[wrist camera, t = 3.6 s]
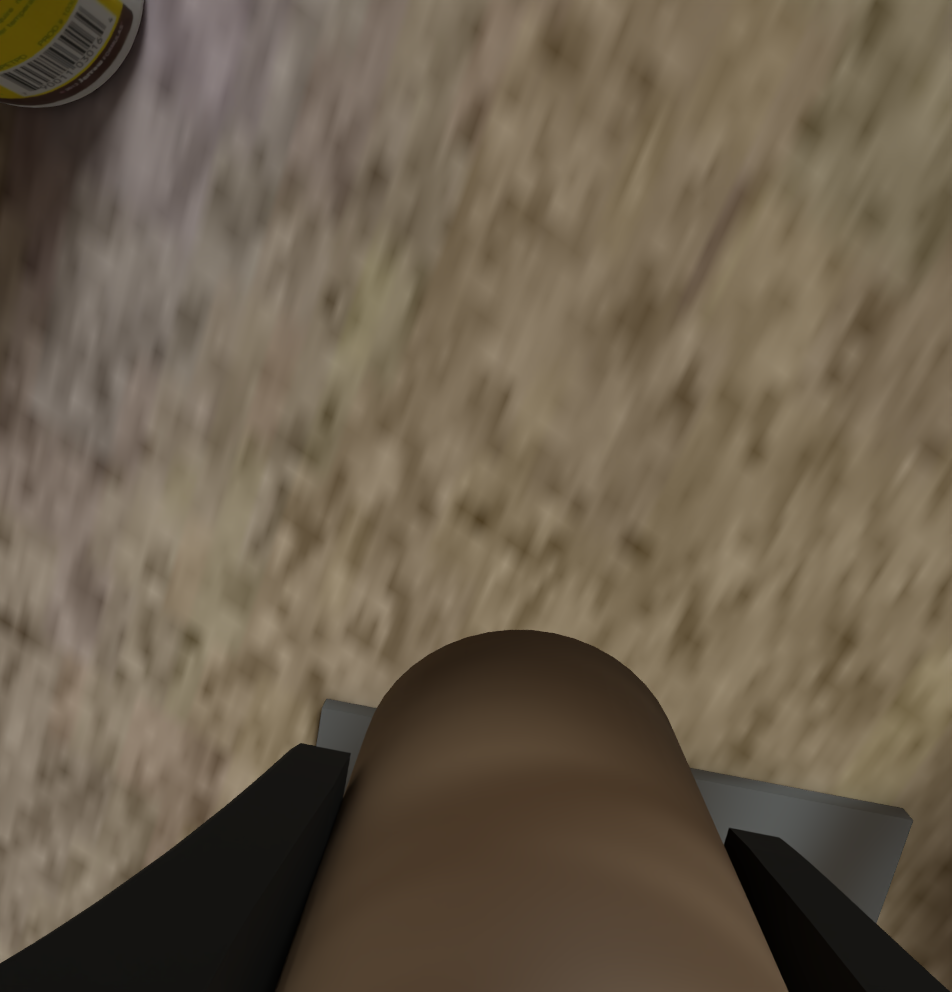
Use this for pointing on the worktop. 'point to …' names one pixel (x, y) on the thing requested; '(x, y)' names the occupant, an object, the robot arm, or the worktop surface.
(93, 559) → the worktop surface
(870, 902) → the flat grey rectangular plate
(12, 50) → the supplement bottle
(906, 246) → the worktop surface
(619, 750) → the walnut peg
